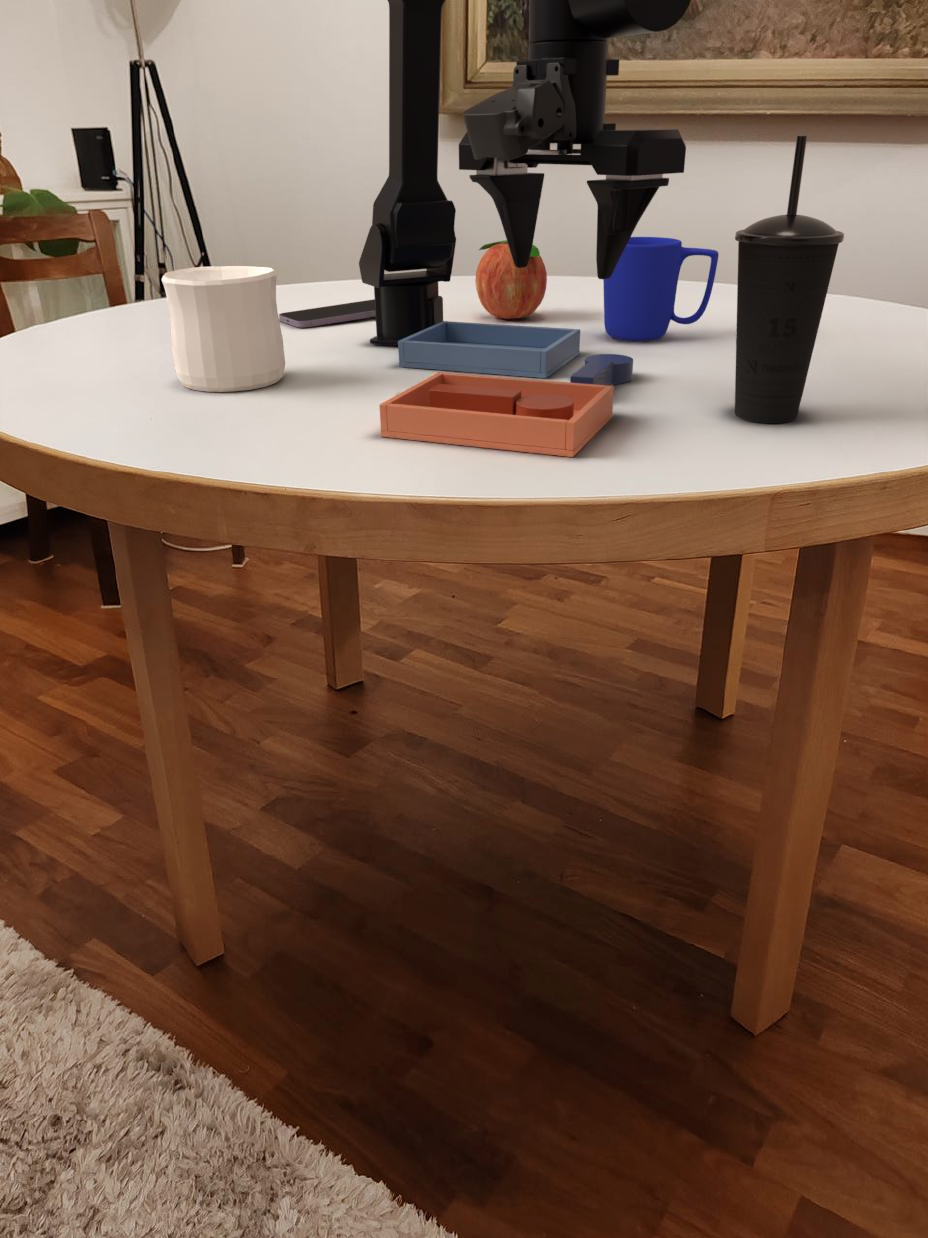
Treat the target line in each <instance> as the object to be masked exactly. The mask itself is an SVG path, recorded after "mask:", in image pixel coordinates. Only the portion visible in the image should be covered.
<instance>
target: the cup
mask: <svg viewBox="0 0 928 1238" xmlns="http://www.w3.org/2000/svg"><path fill="white" fill-rule="evenodd" d="M277 277H278V273H277V272H276V271H275V269H273V268H272V267H267V266H248V265H224V266H212V265H211V266H196V267H195V266H194V267H186V268H181V269H175V270H171V271H166V272H165V273H164V274H163V275H162V277H161V279H160V280H161V282H162V285H163V289H164V292H165V297H166V301H167V305H168V312H169V319H170V338H171V348H172V355H173V361H174V369H175V372H176V375H177V378H178V381H180V383H181V384H182V385H183V386H184V387H186V388H187V389H189V390H194V391H198V392H208V393H230V392H231V393H233V392H234V393H235V392H242V391H243V392H244V391H251V390H256V389H260V388H266V387H269V386H272V385H274V384H277V383H278V382H279V381H281V380H282V377H284V374H285V368H286V358H285V357H286V355H285V346H284V338H283V334H282V328H281V323H280V322H281V321H280V320H279V312H278V303H277V279H278V278H277Z"/></svg>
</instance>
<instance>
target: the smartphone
mask: <svg viewBox="0 0 928 1238" xmlns="http://www.w3.org/2000/svg"><path fill="white" fill-rule="evenodd" d="M278 317H279V322H282V323H284V324H288V325H290V326H293V327H294V328H295V327H296V328H312V327H318V326H325V325H330V324H337V323H343V322H349V321H355V320H356V321H357V320H361V319H362V320H363V319H367V318H376V314H375V298H373V299H368V300H367V299H366V300H361V301H353V302H348V303H340V304H334V305H328V306H327V305H326V306H320V307H319V306H318V307H313V308H306V309H300V310H294V311H286V312H281V313H278Z"/></svg>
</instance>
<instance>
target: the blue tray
mask: <svg viewBox="0 0 928 1238" xmlns="http://www.w3.org/2000/svg"><path fill="white" fill-rule="evenodd" d="M397 347H398V350H397V351H398V366H399V368H408V369H409V368H410V369H423V370H435V371H436V370H437V371H449V372H460V373H461V372H462V373H471V374H472V373H473V374H474V373H475V374H486V375H499V376H509V377H510V376H512V377H522V378H523V377H525V378H537V379H547V378H549V377H551V375H553V374H554V373H556V372H557V371H558V370H560V369H561V368H562V367H564V366H565V365H567V364H568V363H569V362H570V361H572V360H574V359H575V358H576V357H578V356H579V355H580V353H581V352H580V348H581V329H580V328H564V327H549V326H548V327H547V326H533V325H532V326H531V325H516V324H515V325H514V324H499V323H482V322H481V323H480V322H465V321H464V322H463V321H448V320H443V321H442V322H440V323H438V324H436V325H433V326H431V327H429V328H427V329H424V330H422V331H420V332H418V333H415V334H413V335H411V336H408V337H406V338H404V339H402V340H399V341H398V346H397Z"/></svg>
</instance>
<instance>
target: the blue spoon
mask: <svg viewBox="0 0 928 1238" xmlns="http://www.w3.org/2000/svg"><path fill="white" fill-rule="evenodd" d="M633 369H634V358H633V357H631V356H629V355H624V354H617V353H599V354H598V353H597V354H591V355H588V356H586V357H585V358H584V365H582V367H580V368H579V369H578V370H577V371H575V372H574V373H573V374H571V375H570V380H569V383H582V384H594V385H606V386H613V385H619V384H620V385H621V384H626V383H628V382H629V383H630V382H631V381H632V380H633Z"/></svg>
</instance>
